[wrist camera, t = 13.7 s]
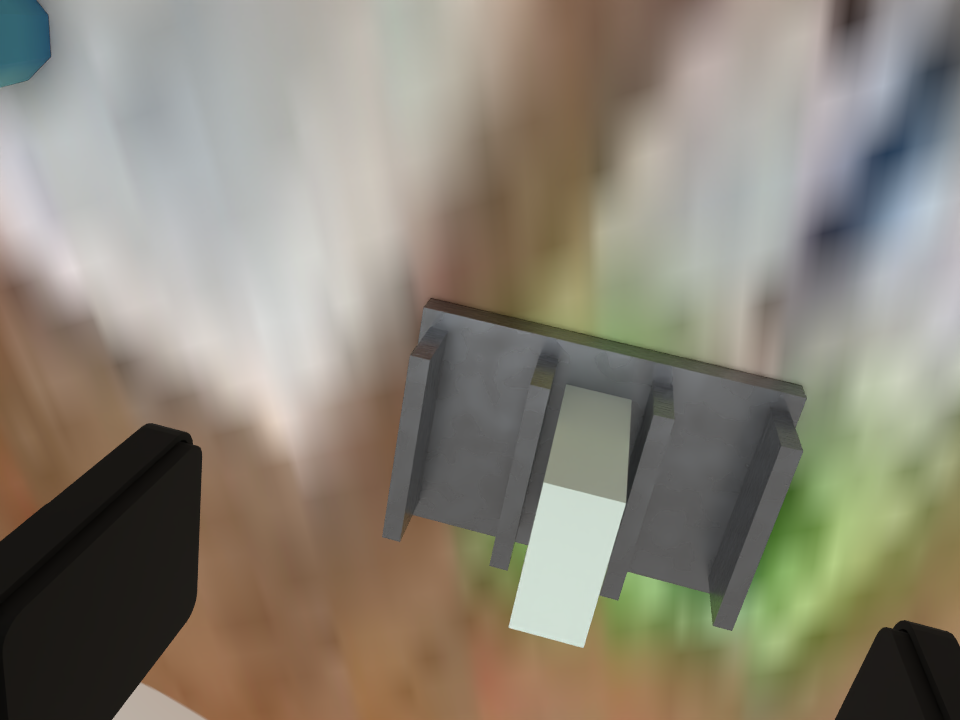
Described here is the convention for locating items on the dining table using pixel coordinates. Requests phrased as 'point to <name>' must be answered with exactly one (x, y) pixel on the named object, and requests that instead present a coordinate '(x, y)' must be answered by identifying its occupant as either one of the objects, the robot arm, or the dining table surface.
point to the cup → (22, 40)
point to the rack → (652, 447)
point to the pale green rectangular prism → (575, 517)
